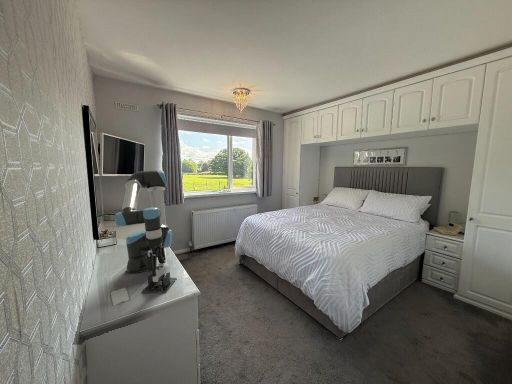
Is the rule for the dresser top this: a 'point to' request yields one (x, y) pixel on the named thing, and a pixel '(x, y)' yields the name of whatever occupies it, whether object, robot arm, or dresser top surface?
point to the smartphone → (119, 296)
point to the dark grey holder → (159, 284)
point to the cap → (160, 272)
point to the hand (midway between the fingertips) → (159, 278)
